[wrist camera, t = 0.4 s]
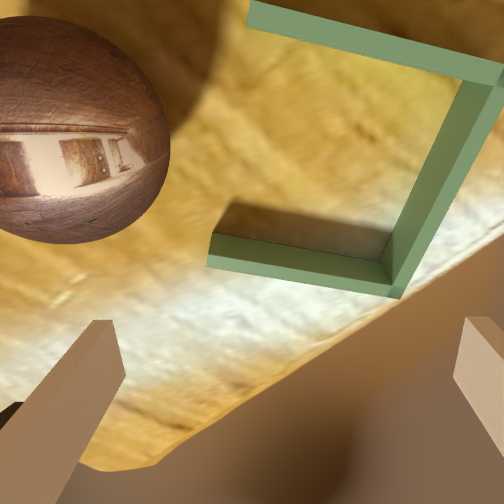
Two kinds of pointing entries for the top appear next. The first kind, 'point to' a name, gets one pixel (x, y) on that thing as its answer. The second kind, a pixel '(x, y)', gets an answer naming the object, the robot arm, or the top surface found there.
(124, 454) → the top surface
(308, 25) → the green bracket
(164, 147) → the wooden sphere
